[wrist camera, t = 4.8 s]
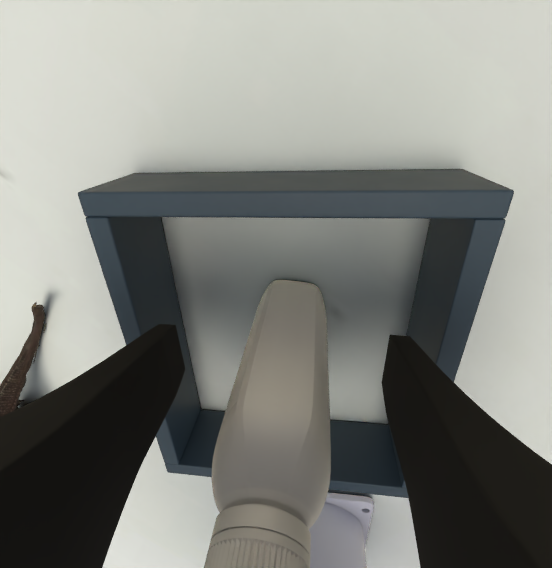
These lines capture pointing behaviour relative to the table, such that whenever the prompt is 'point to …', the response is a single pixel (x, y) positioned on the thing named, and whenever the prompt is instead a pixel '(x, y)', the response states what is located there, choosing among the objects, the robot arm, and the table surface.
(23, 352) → the dinosaur model
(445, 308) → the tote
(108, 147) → the table surface
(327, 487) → the eye dropper bottle
